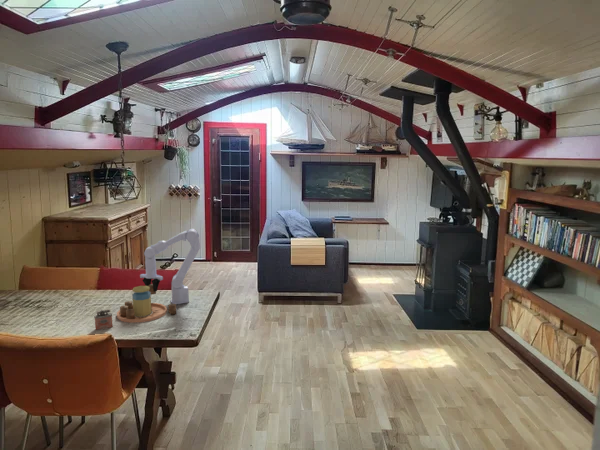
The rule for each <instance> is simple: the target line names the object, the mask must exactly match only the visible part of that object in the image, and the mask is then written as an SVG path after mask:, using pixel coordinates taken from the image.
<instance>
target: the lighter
mask: <svg viewBox="0 0 600 450" xmlns="http://www.w3.org/2000/svg"><path fill="white" fill-rule="evenodd" d="M94 325H95V326H94V327H95V331H101V330H107V329H111V328H113V327H114V326H113V313H111V309H109V308H108V309H101V310H99V311H96V315H94Z"/></svg>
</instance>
